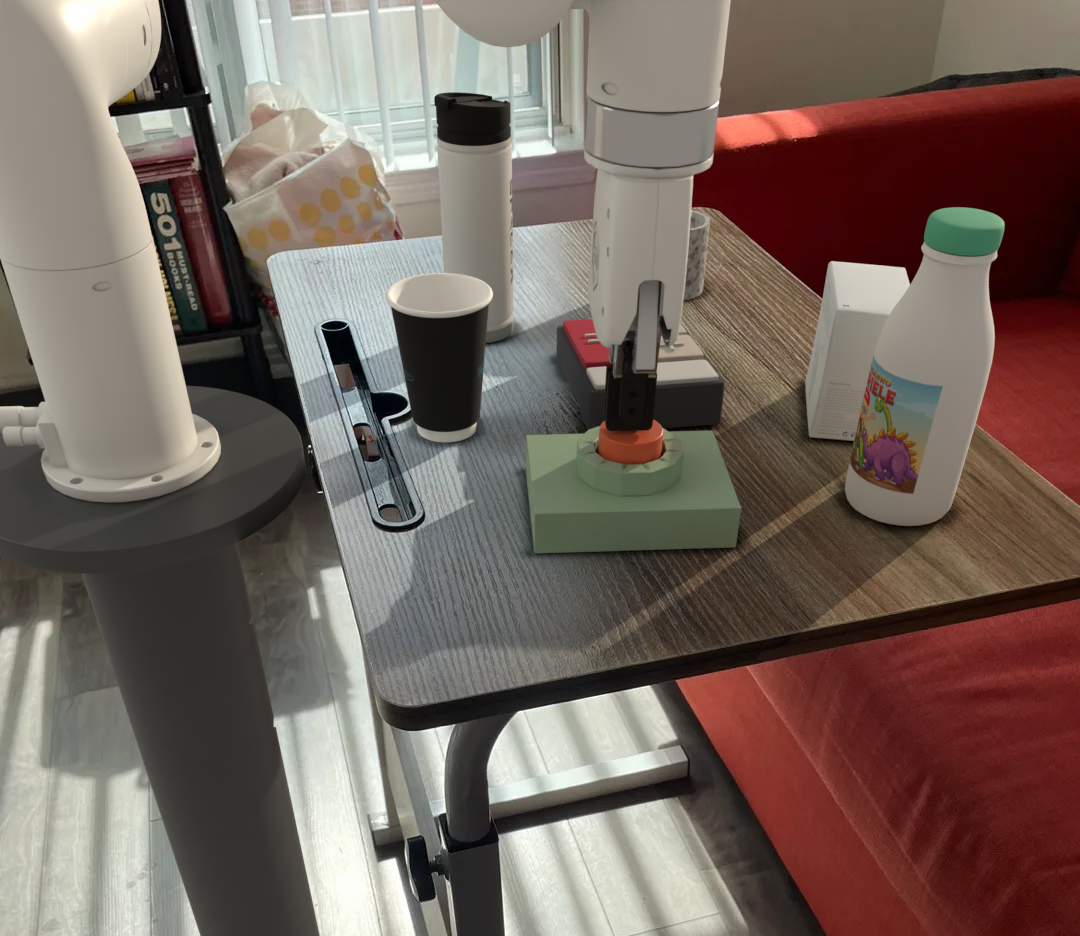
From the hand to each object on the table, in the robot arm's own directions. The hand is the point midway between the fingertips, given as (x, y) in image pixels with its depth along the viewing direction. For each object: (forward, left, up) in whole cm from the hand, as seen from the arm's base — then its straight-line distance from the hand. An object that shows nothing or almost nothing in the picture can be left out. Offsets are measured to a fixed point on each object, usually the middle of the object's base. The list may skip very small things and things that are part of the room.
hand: (627, 424), depth 76 cm
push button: (0, 0, -2) cm, 2 cm away
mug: (+9, +40, -7) cm, 42 cm away
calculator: (+3, +19, -7) cm, 20 cm away
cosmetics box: (+20, +14, -7) cm, 26 cm away
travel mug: (-10, +32, -7) cm, 34 cm away
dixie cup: (-13, +13, -7) cm, 19 cm away
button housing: (0, 0, -7) cm, 7 cm away
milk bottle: (+20, 0, -7) cm, 21 cm away
